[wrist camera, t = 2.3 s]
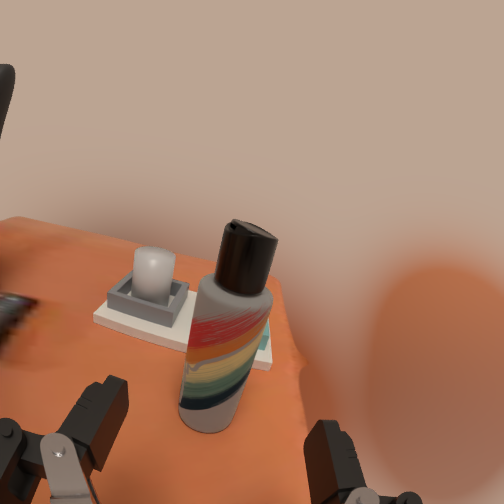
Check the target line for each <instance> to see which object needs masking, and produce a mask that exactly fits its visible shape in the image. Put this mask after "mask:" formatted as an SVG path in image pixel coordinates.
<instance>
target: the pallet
mask: <svg viewBox="0 0 504 504" xmlns="http://www.w3.org/2000/svg"><path fill="white" fill-rule="evenodd" d="M175 258H176V256H175V254H174V253H172V252H171V251H169V250H166V249H163V248H159V247H152V246H145V247H139V248H137V249H136V250H135V256H134V266H133V270H132V271H131V272H130V273H128V274H127V275H126V276H125V277H124V278H123V279H122V280H121V281H119V282H118V283H117V284H116V285H115V286H114V287H113V288H112V289H110V290H109V291H108V292H107V300H106V301H105V302H104V303H103V304H102V305H101V306H100V307H99V308H98V309H97V310H96V311H95V312H94V313H93V318H94V323H97V324H99V325H102V326H105V327H107V328H110V329H113V330H115V331H118V332H121V333H124V334H127V335H129V336H132V337H135V338H138V339H141V340H144V341H148V342H151V343H154V344H157V345H160V346H164V347H167V348H170V349H174V350H177V351H181V352H185V353H186V351H187V345H188V339H189V334H190V328H191V322H192V317H193V311H194V306H195V301H196V296H197V292H193V291H189V285H190V284H189V283H185V282H181V281H178V280H174V279H172V277H173V271H174V264H175ZM271 365H272V352H271V341H270V329H269V318H268V321H267V324H266V327H265V330H264V333H263V336H262V338H261V341H260V344H259V347H258V350H257V353H256V356H255V359H254V362H253V364H252V367H251V368H254V369H259V370H265V371H269V370H270V368H271Z"/></svg>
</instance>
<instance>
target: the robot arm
mask: <svg viewBox="0 0 504 504" xmlns="http://www.w3.org/2000/svg"><path fill="white" fill-rule="evenodd" d="M14 84H15V70H14V68H13V66H12V65H10V64H0V138H1V133H2V129H3V125H4V121H5V118H6V114H7V111H8V108H9V104H10V101H11V97H12V93H13V89H14ZM128 407H129V399H128V384H127V381H126V380H123V379H120V378H118V377H115V376H113V375H109V376H108V377H107V378H106V380H105V381H104V383H103V384H101V383H98V382H94V383H93V384H91V385H89V386H88V387H86V389H85V390H84V392H83V393H82V395H81V397H80V398H79V399H78V401H77V402H76V405H74V407H73V408H72V410H71V411H70V413H69V414H68V416H67V417H66V419H65V420H64V422H63V424H62V425H61V427H60V428H59V430H58V431H56V432H55V433H50V434H47V435H38V434H35V433H31V432H28V431H25V430H22V429H21V428H20V426H19V424H18V423H17V422H15V421H14V420H12V419H10V418H1V419H0V504H31V502H32V499H33V497H34V494H35V492H36V489H37V487H38V484H39V482H40V480H41V478H44V479H47V480H48V483H49V487H50V490H51V497H50V503H51V504H101V502H100V500H99V498H98V495H97V493H96V490H95V488H94V485H93V483H92V480H91V478H90V475H91V473H92V471H93V469H95V470H98V471H100V472H101V471H102V468H103V466H104V464H105V461H106V459H107V457H108V455H109V452H110V450H111V448H112V445H113V443H114V441H115V439H116V437H117V434H118V432H119V430H120V428H121V426H122V423H123V421H124V419H125V417H126V415H127V412H128ZM304 457H305V463H306V470H307V477H308V483H309V490H310V497H311V504H423V503H422V500H421V498H420V497H419V496H418V495H417V494H416V493H414V492H404V493H402V494H401V495H399V496H398V497H388V496H379V495H378V494H377V493H376V492H375V491H374V490H372V489H370V488H367V486H366V483H365V480H364V477H363V473H362V470H361V467H360V463H359V460H358V459H357V454H356V451H355V447H354V444H353V441H352V439H351V438H350V437H349V435H348V434H347V433H346V432H345V431H340V427H339V424H338V422H337V421H336V420H318V421H317V423H316V424H315V426H314V427H313V429H312V430H311V432H310V433H309V434H308V436H307V437H306V439H305V442H304Z"/></svg>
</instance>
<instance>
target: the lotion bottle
mask: <svg viewBox="0 0 504 504" xmlns="http://www.w3.org/2000/svg"><path fill="white" fill-rule="evenodd" d="M277 244H278V239H277V238H276V237H274V236H273V235H271V234H270V233H268V232H267V231H265V230H264V229H262V228H260V227H258V226H256V225H253V224H251V223H248V222H243V221H240V220H237V219H233V220H232V221H231V222H230V223H228V224H227V225H226V226H225V229H224V233H223V237H222V242H221V246H220V251H219V255H218V260H217V264H216V269H215V273H212V274H208V275H206V276H204V277H203V278H202V279H201V280H200V283H199V286H198V291H197V296H196V301H195V306H194V311H193V317H192V322H191V328H190V334H189V339H188V345H187V351H186V358H185V364H184V370H183V377H182V384H181V391H180V398H179V414H180V417H181V419H182V420H183V422H184V423H185V424H186V425H188V426H189V427H190V428H192V429H194V430H196V431H199V432H203V433H216V432H219V431H222V430H223V429H225V428H226V427H227V426H228V425H229V424H230V422H231V421H232V418H233V416H234V414H235V411H236V408H237V406H238V403H239V400H240V398H241V395H242V392H243V390H244V387H245V384H246V381H247V378H248V376H249V373H250V370H251V367H252V364H253V362H254V359H255V356H256V353H257V350H258V347H259V344H260V341H261V338H262V336H263V333H264V330H265V327H266V324H267V321H268V317H269V314H270V311H271V308H272V304H273V296H272V293H271V292H270V291H269V289H267V288H266V287H265V284H266V281H267V277H268V274H269V271H270V267H271V264H272V261H273V257H274V253H275V250H276V247H277Z"/></svg>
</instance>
